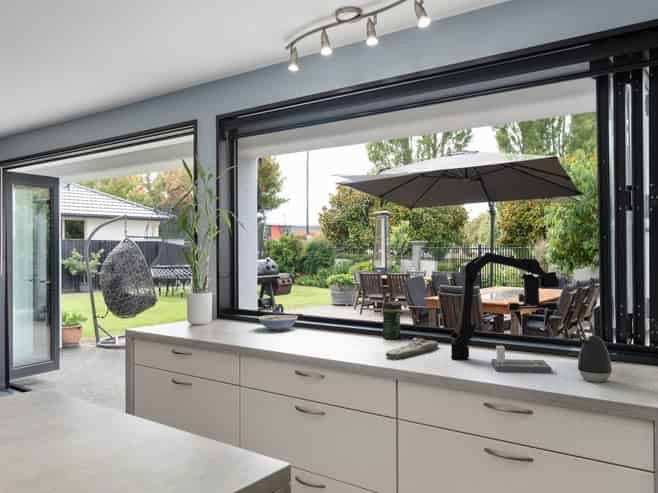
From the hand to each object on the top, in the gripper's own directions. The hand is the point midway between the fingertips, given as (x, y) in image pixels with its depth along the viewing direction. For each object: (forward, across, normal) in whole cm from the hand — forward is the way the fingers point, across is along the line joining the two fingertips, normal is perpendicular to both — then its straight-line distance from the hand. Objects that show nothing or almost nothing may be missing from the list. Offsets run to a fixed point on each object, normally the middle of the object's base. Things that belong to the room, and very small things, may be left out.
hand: (533, 327), depth 207 cm
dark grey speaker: (+13, -14, +35) cm, 40 cm away
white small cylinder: (+10, +15, +22) cm, 28 cm away
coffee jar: (+11, +62, -36) cm, 73 cm away
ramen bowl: (+10, +129, -53) cm, 140 cm away
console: (+12, +8, +21) cm, 26 cm away
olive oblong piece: (+12, +50, -1) cm, 51 cm away
